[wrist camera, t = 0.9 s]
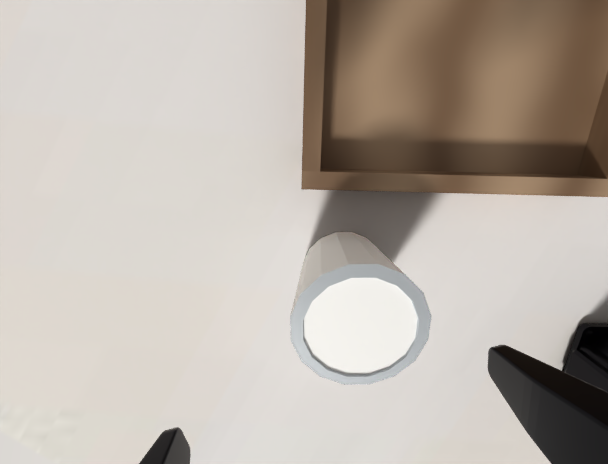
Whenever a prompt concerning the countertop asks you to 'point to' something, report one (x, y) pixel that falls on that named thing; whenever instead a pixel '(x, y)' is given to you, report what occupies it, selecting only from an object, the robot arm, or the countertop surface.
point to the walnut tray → (456, 96)
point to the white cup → (356, 312)
